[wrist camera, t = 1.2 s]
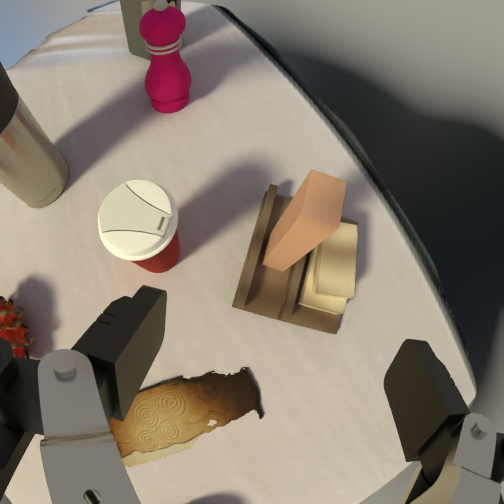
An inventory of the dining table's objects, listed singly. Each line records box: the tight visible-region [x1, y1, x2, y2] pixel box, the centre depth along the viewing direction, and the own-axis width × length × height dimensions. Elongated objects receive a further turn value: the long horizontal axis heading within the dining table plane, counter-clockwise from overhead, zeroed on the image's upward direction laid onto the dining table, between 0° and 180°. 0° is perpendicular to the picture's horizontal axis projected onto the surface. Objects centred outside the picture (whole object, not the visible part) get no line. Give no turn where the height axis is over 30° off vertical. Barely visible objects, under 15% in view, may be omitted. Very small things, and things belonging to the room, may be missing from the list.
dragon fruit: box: [0, 296, 35, 359], centre depth 30 cm, size 8×8×12 cm
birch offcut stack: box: [297, 222, 359, 314], centre depth 38 cm, size 11×6×5 cm, turn 164°
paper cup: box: [98, 180, 179, 273], centre depth 32 cm, size 8×8×14 cm
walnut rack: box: [232, 184, 358, 334], centre depth 39 cm, size 16×14×4 cm
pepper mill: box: [139, 0, 191, 113], centre depth 35 cm, size 7×7×20 cm
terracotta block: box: [261, 169, 347, 272], centre depth 31 cm, size 4×3×18 cm
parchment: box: [108, 368, 263, 467], centre depth 34 cm, size 25×10×1 cm, turn 115°
